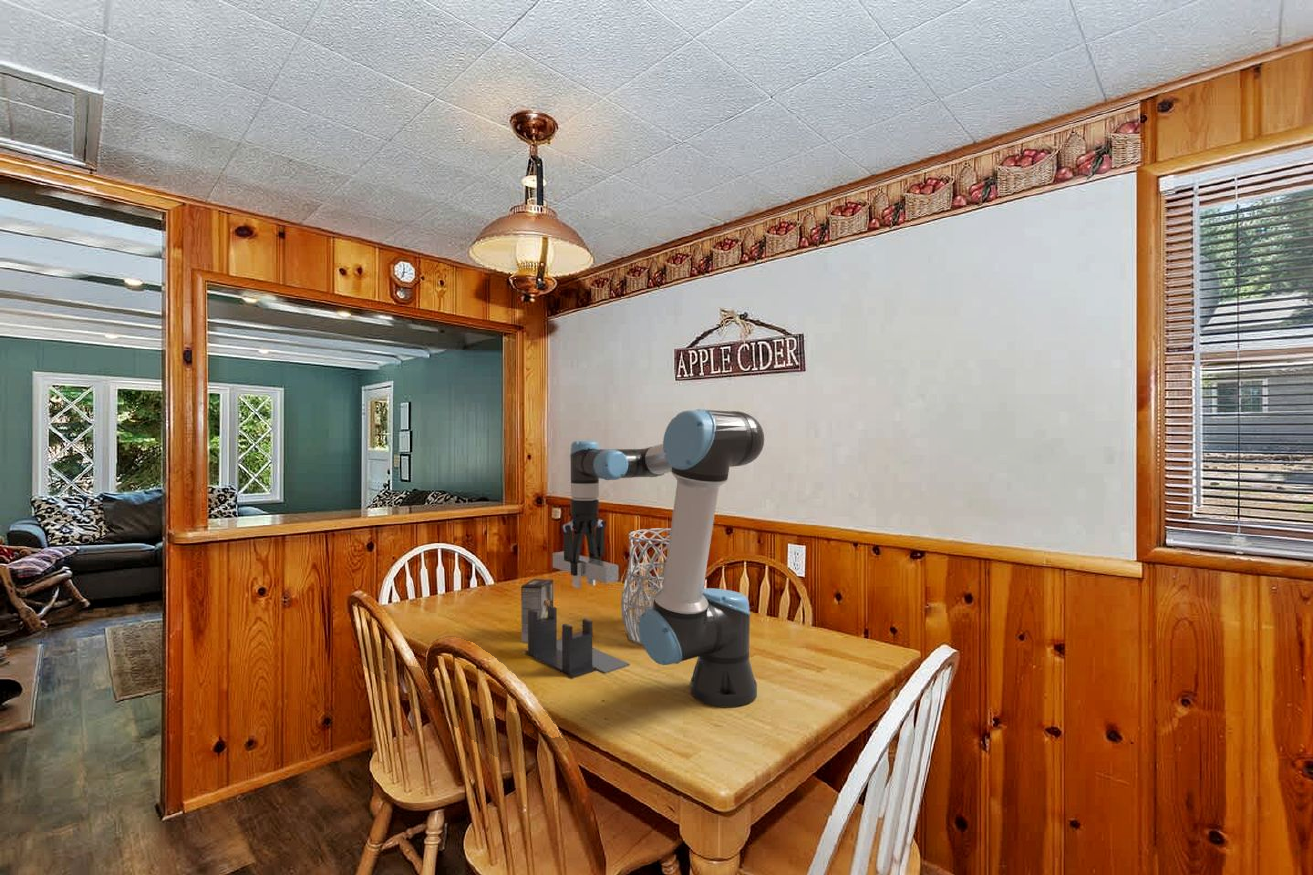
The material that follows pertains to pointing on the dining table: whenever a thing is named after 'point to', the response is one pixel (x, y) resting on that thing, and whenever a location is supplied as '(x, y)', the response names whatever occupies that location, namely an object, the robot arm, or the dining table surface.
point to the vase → (641, 580)
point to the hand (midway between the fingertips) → (584, 585)
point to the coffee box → (535, 601)
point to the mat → (601, 660)
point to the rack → (574, 646)
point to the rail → (589, 568)
